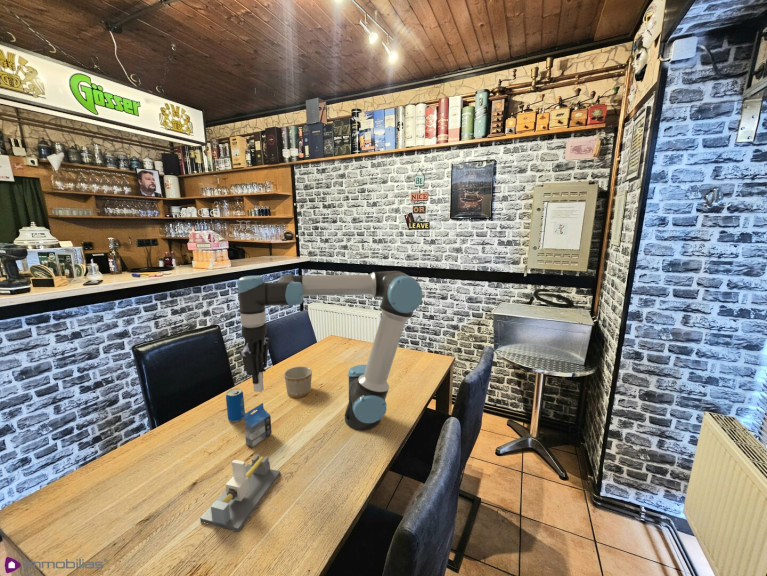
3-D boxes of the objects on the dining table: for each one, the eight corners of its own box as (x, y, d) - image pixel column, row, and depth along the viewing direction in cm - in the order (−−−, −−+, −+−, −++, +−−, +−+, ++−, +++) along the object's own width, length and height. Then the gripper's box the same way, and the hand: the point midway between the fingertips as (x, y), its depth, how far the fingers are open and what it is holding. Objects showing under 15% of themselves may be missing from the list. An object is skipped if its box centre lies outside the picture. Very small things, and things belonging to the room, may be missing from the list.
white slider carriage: (249, 491, 92) (246, 462, 90) (240, 501, 88) (238, 471, 86) (235, 487, 93) (232, 459, 91) (227, 497, 89) (223, 468, 87)
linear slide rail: (280, 474, 101) (279, 457, 100) (238, 532, 82) (236, 512, 81) (248, 467, 104) (246, 451, 103) (200, 521, 85) (198, 502, 84)
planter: (279, 396, 147) (278, 375, 145) (296, 383, 159) (295, 364, 156) (301, 402, 142) (301, 381, 140) (317, 388, 154) (317, 369, 152)
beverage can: (238, 423, 127) (236, 397, 124) (224, 421, 128) (221, 395, 125) (248, 414, 133) (246, 388, 130) (234, 412, 134) (232, 387, 132)
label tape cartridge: (252, 448, 113) (250, 417, 110) (245, 444, 115) (242, 414, 112) (272, 434, 121) (270, 405, 118) (265, 431, 122) (263, 402, 120)
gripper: (256, 317, 108) (260, 380, 113) (229, 329, 96) (236, 399, 100) (275, 319, 106) (279, 382, 111) (250, 331, 94) (256, 402, 99)
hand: (258, 390), depth 106 cm, fingers closed
